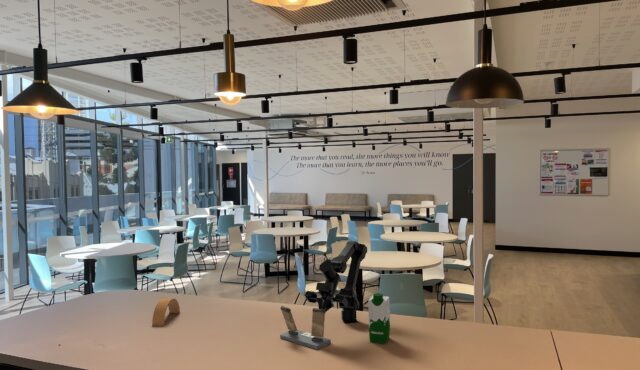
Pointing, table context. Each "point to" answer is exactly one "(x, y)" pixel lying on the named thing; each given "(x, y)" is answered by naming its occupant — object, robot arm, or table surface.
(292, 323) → the lever
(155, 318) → the arch
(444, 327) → the table surface
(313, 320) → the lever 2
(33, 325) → the table surface
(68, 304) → the table surface
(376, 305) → the milk carton
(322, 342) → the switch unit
